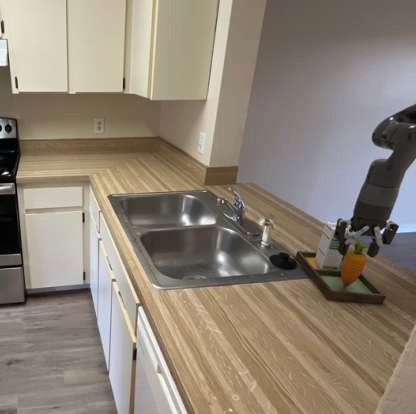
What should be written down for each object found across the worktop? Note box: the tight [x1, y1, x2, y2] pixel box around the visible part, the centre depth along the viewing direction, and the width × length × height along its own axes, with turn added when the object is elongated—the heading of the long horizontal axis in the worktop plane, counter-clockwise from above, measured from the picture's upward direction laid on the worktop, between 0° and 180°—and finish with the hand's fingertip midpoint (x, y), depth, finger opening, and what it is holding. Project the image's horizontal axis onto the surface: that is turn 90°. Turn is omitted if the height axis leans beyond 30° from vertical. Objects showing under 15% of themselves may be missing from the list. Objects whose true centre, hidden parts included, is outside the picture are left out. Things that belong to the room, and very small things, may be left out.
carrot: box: [341, 239, 370, 287], centre depth 93 cm, size 5×5×15 cm
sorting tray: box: [295, 250, 387, 305], centre depth 101 cm, size 14×22×3 cm, turn 172°
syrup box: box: [315, 221, 355, 271], centre depth 103 cm, size 6×6×14 cm
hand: (356, 255), depth 92 cm, fingers open, 6 cm apart
